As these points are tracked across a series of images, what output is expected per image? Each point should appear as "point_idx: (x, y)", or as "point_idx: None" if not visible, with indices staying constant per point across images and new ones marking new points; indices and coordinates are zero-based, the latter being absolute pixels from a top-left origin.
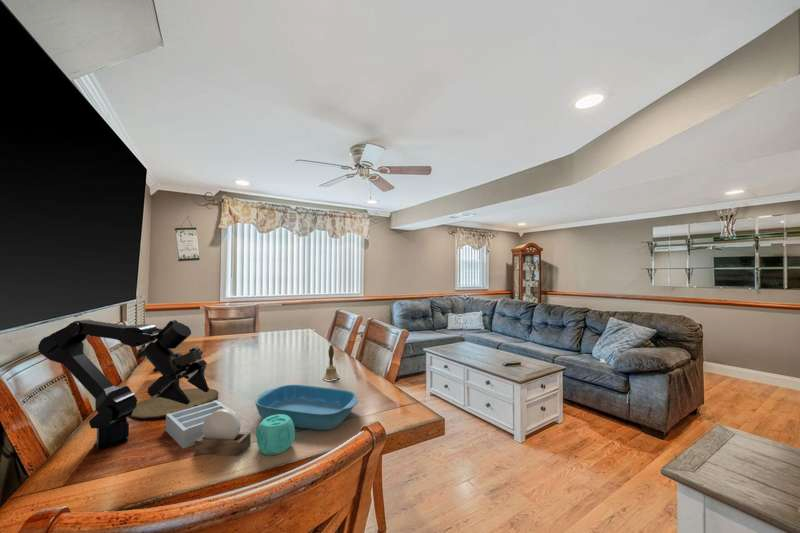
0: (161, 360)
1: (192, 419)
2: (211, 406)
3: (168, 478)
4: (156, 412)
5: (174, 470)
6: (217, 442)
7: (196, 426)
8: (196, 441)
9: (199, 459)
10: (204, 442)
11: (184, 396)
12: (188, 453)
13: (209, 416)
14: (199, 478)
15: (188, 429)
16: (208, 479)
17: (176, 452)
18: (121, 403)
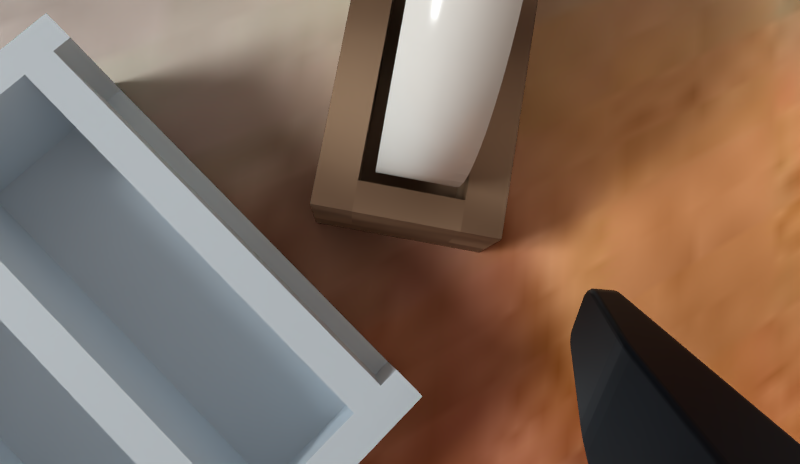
0: None
1: (143, 452)
2: None
3: (765, 269)
4: None
5: (682, 281)
6: (529, 42)
7: (316, 319)
8: (503, 225)
9: (560, 177)
10: (510, 156)
11: (724, 382)
12: (475, 301)
13: (505, 58)
14: (765, 76)
15: (368, 373)
16: (774, 20)
17: (453, 405)
18: None
